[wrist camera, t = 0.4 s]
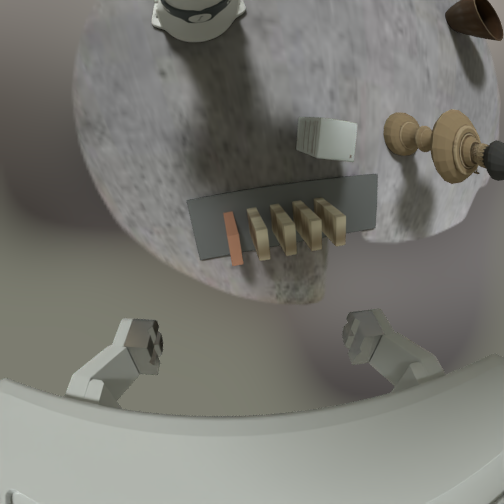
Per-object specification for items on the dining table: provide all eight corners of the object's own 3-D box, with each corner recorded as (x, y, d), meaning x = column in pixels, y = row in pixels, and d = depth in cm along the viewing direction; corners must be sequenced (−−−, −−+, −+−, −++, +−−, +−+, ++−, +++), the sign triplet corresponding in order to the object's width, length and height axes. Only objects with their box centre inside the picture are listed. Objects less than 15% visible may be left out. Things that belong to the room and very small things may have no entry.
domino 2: (246, 208, 57) (255, 230, 47) (255, 207, 58) (267, 228, 47) (250, 234, 60) (259, 261, 50) (259, 232, 60) (270, 259, 50)
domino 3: (269, 205, 58) (284, 226, 47) (278, 203, 58) (295, 224, 47) (272, 230, 61) (286, 256, 50) (281, 228, 61) (296, 254, 50)
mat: (187, 200, 55) (186, 201, 55) (375, 173, 59) (377, 174, 58) (200, 258, 62) (200, 259, 61) (373, 226, 65) (375, 228, 65)
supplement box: (329, 120, 52) (359, 123, 41) (326, 153, 55) (354, 163, 44) (297, 116, 50) (320, 116, 39) (294, 150, 54) (316, 159, 43)
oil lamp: (378, 165, 58) (518, 234, 23) (373, 104, 51) (529, 126, 15) (422, 160, 58) (547, 218, 23) (419, 105, 51) (556, 134, 16)
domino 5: (313, 198, 59) (336, 217, 48) (321, 197, 59) (346, 216, 48) (314, 223, 61) (336, 246, 51) (322, 222, 62) (345, 244, 51)
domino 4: (292, 201, 58) (311, 221, 48) (300, 200, 58) (321, 219, 48) (293, 226, 61) (312, 251, 51) (302, 225, 61) (321, 249, 51)
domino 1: (223, 212, 57) (227, 236, 47) (232, 211, 57) (238, 234, 47) (227, 238, 60) (232, 266, 49) (236, 236, 60) (243, 264, 50)
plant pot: (429, -3, 34) (466, -13, 20) (456, 4, 34) (491, -1, 20) (447, 40, 41) (486, 37, 27) (471, 43, 41) (508, 43, 27)
